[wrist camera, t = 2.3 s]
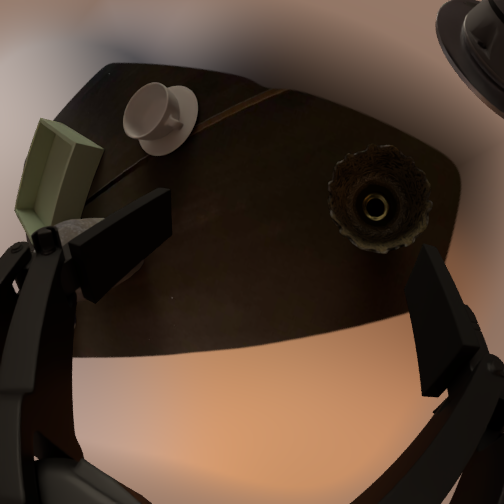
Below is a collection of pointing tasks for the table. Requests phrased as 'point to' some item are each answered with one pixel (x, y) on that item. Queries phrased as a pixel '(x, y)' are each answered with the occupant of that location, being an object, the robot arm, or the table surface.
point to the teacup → (160, 117)
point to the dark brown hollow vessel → (386, 190)
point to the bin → (55, 176)
